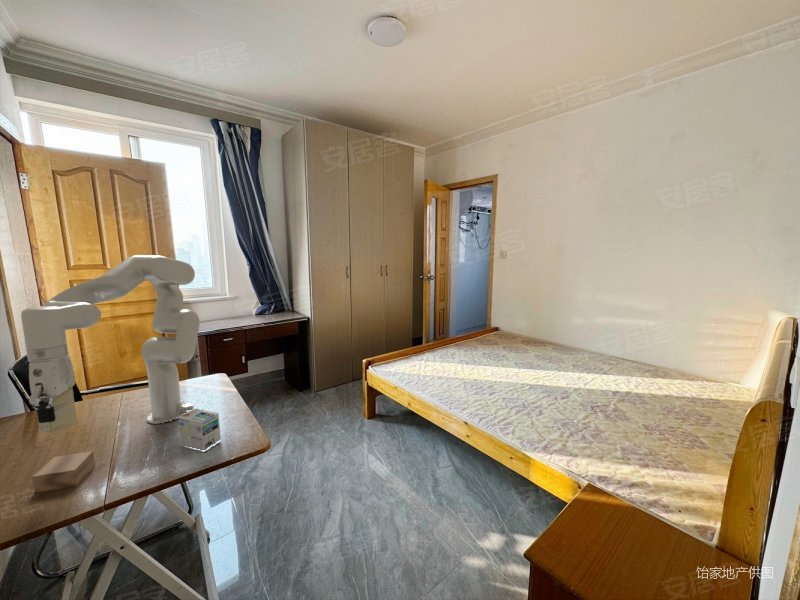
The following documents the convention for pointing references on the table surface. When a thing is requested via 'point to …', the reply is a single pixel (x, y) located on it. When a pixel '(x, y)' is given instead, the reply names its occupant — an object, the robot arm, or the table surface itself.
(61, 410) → the skincare box
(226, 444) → the table surface
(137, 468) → the table surface
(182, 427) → the light bulb box
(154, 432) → the table surface
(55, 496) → the table surface
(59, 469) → the tan flat block
